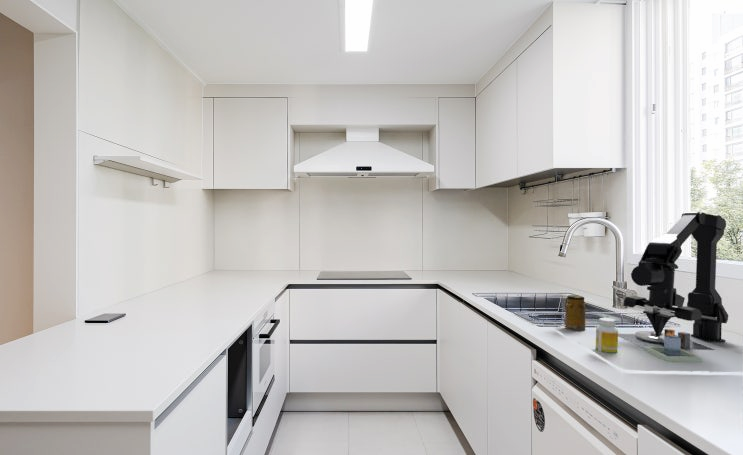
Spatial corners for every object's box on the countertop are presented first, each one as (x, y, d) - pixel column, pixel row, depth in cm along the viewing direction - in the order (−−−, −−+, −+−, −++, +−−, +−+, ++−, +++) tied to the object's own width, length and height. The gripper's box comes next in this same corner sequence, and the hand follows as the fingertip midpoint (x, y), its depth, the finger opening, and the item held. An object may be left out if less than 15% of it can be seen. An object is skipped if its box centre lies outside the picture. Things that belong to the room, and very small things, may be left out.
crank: (629, 332, 134) (629, 318, 134) (667, 335, 132) (668, 320, 132) (649, 346, 119) (650, 329, 119) (693, 349, 117) (693, 332, 117)
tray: (676, 353, 116) (676, 347, 116) (701, 364, 107) (701, 357, 107) (644, 353, 116) (644, 346, 116) (666, 363, 107) (667, 357, 107)
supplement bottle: (591, 351, 118) (591, 318, 118) (605, 349, 119) (605, 316, 119) (607, 357, 113) (608, 322, 112) (622, 355, 114) (622, 320, 114)
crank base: (674, 337, 133) (674, 321, 133) (715, 352, 117) (715, 335, 117) (612, 336, 134) (613, 320, 134) (644, 351, 118) (644, 334, 118)
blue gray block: (665, 354, 114) (666, 334, 114) (681, 357, 112) (682, 337, 112) (662, 356, 112) (662, 336, 112) (678, 360, 109) (679, 339, 109)
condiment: (570, 327, 145) (570, 293, 144) (595, 332, 138) (595, 297, 138) (560, 331, 140) (560, 296, 140) (585, 336, 133) (586, 299, 133)
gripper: (714, 288, 115) (710, 342, 116) (645, 277, 132) (642, 325, 133) (691, 290, 111) (687, 347, 111) (623, 279, 127) (620, 328, 128)
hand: (658, 336), depth 121 cm, fingers closed
